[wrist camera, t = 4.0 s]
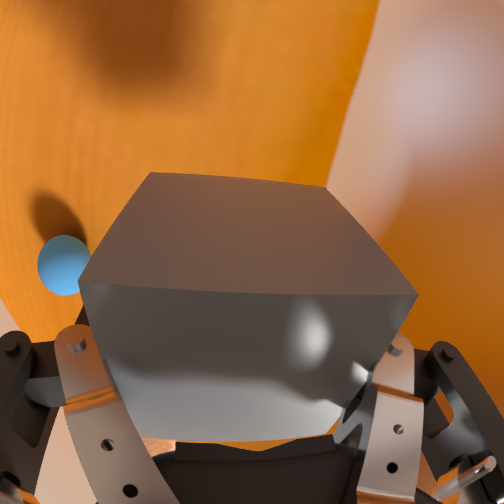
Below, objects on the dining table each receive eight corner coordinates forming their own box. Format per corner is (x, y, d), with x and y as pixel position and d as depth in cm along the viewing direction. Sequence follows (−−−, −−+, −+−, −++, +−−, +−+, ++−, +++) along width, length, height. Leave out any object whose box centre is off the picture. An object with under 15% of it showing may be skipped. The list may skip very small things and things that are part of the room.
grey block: (150, 172, 10) (77, 280, 4) (325, 187, 11) (418, 294, 5) (155, 310, 13) (135, 436, 8) (291, 315, 14) (325, 433, 9)
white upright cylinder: (128, 434, 41) (123, 481, 32) (145, 422, 38) (141, 476, 30) (165, 446, 44) (164, 491, 35) (186, 435, 42) (187, 486, 33)
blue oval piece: (61, 214, 21) (33, 242, 16) (107, 243, 23) (87, 276, 18) (48, 256, 22) (24, 287, 18) (89, 282, 24) (71, 317, 20)
